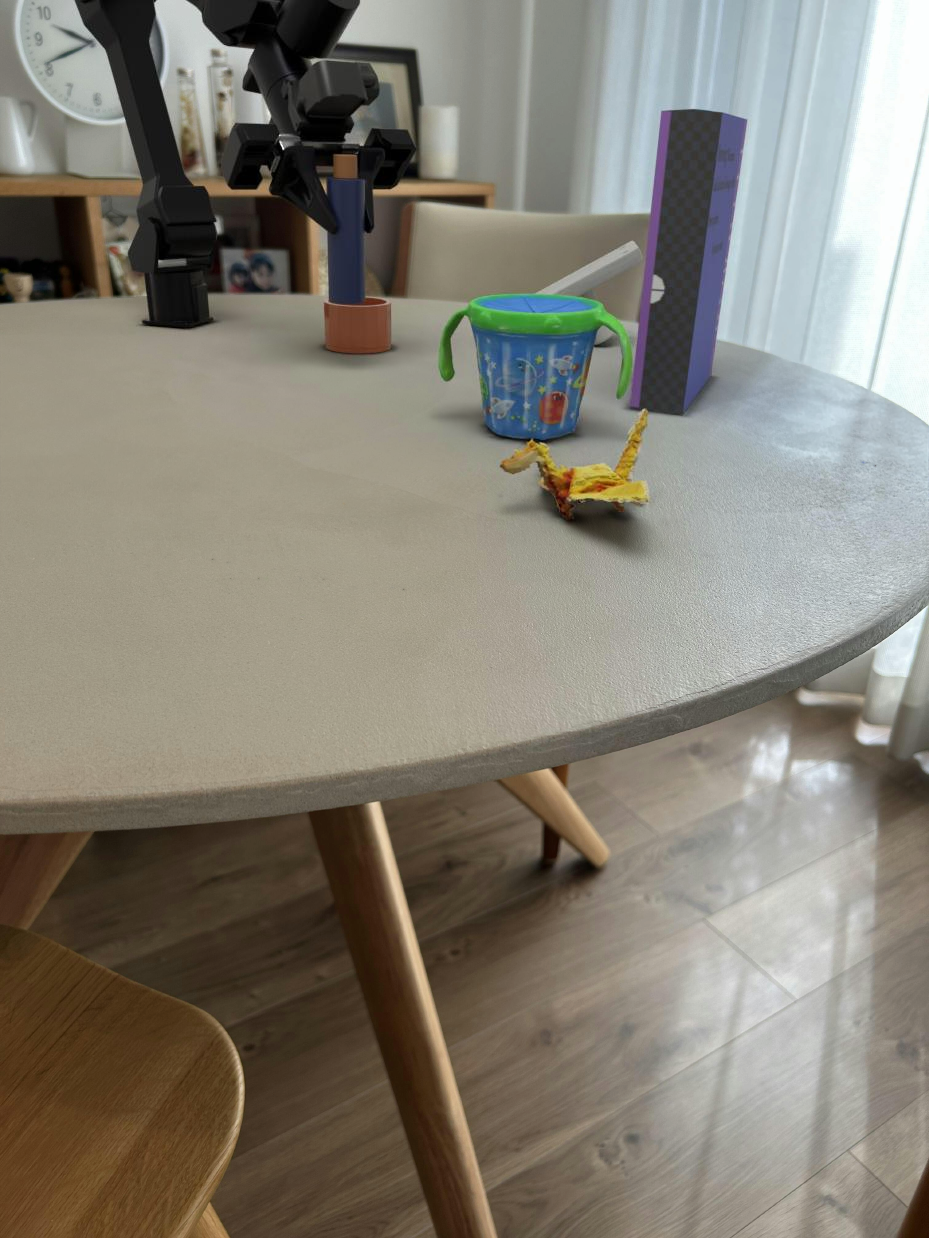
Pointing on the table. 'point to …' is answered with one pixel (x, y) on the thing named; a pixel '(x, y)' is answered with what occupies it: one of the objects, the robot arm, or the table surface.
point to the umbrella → (346, 232)
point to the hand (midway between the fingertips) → (353, 231)
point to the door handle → (597, 278)
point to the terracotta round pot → (358, 326)
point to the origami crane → (587, 474)
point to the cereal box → (686, 256)
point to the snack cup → (534, 359)
